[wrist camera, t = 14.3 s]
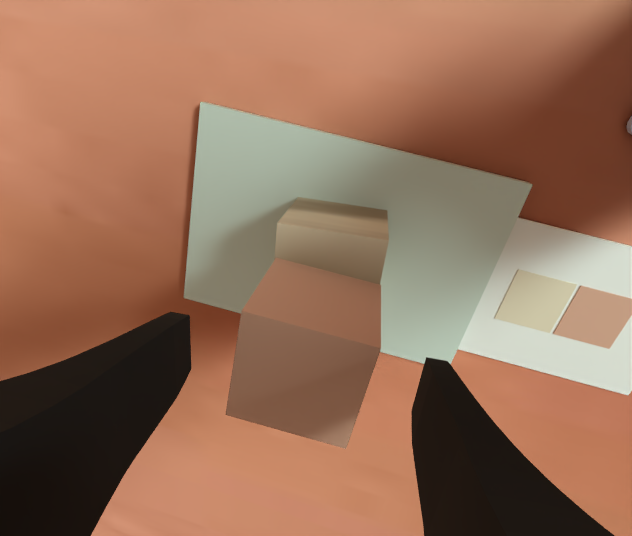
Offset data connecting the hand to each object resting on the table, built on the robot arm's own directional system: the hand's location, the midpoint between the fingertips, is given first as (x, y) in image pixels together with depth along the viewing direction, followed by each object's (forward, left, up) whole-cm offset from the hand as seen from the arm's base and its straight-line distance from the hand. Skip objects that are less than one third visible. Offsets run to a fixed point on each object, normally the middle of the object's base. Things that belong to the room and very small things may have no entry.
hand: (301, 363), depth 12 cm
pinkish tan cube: (+2, 0, -5) cm, 6 cm away
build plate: (0, 0, -10) cm, 10 cm away
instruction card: (-3, +12, -10) cm, 16 cm away
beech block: (0, 0, -10) cm, 10 cm away
